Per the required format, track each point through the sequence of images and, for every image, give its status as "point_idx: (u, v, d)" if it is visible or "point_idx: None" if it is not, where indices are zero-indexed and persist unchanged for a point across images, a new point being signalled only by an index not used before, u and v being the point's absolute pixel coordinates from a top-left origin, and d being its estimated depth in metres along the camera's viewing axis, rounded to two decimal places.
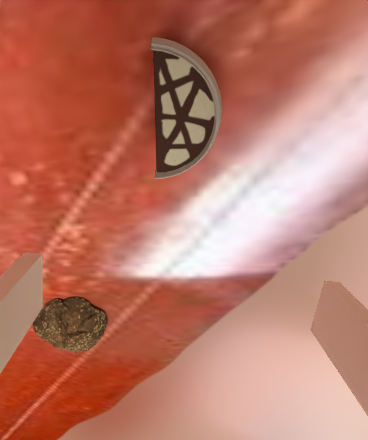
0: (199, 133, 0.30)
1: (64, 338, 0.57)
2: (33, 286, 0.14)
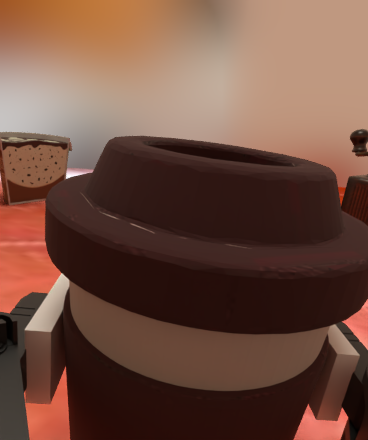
0: (30, 139, 0.54)
1: None
2: None
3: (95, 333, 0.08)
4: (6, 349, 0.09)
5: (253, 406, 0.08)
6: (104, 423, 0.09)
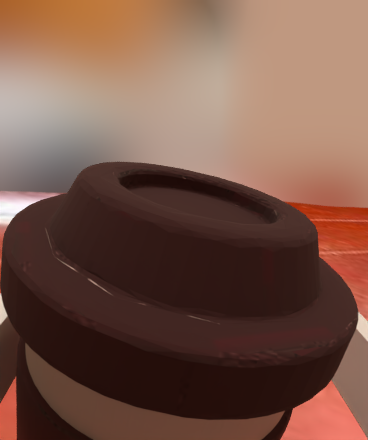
0: None
1: None
2: None
3: (44, 384, 0.08)
4: None
5: None
6: None
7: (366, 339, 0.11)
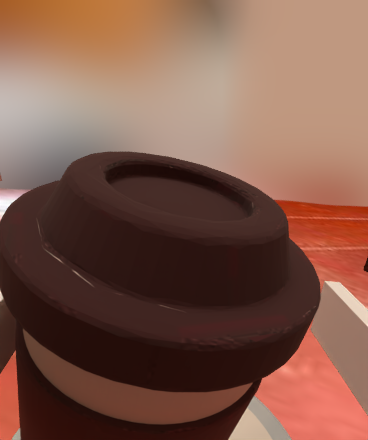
0: None
1: None
2: None
3: (38, 357, 0.09)
4: None
5: (175, 438, 0.09)
6: (43, 433, 0.10)
7: None
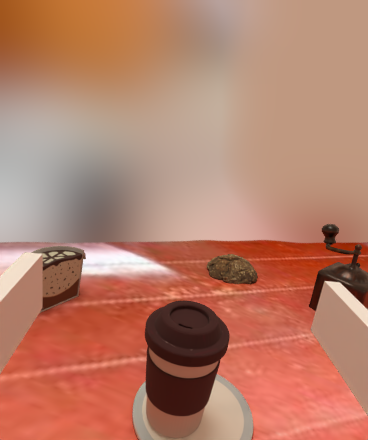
0: (52, 253, 0.65)
1: (234, 260, 0.86)
2: (33, 286, 0.14)
3: (161, 366, 0.37)
4: None
5: (196, 381, 0.36)
6: (162, 386, 0.37)
7: None
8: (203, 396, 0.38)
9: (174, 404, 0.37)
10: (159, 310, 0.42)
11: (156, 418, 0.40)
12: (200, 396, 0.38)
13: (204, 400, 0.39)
